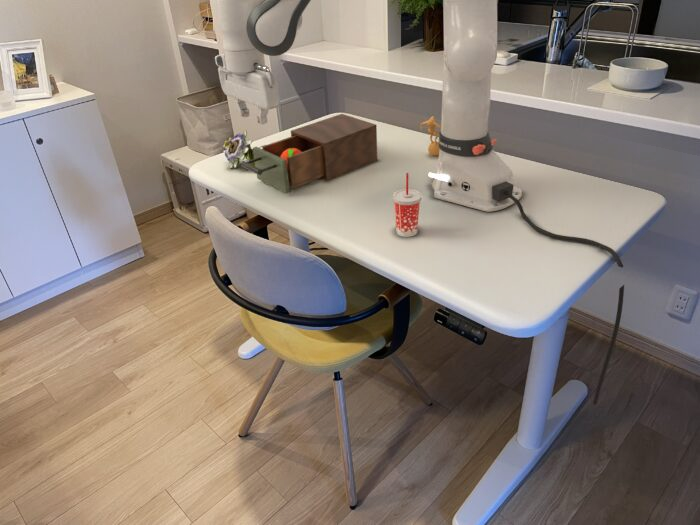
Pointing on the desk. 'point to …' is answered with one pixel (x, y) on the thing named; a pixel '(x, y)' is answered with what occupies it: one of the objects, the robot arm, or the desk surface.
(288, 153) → the clementine
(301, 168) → the drawer
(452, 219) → the desk surface
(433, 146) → the figurine
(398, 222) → the beverage cup
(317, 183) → the desk surface
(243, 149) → the passion flower
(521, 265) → the desk surface
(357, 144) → the cabinet
